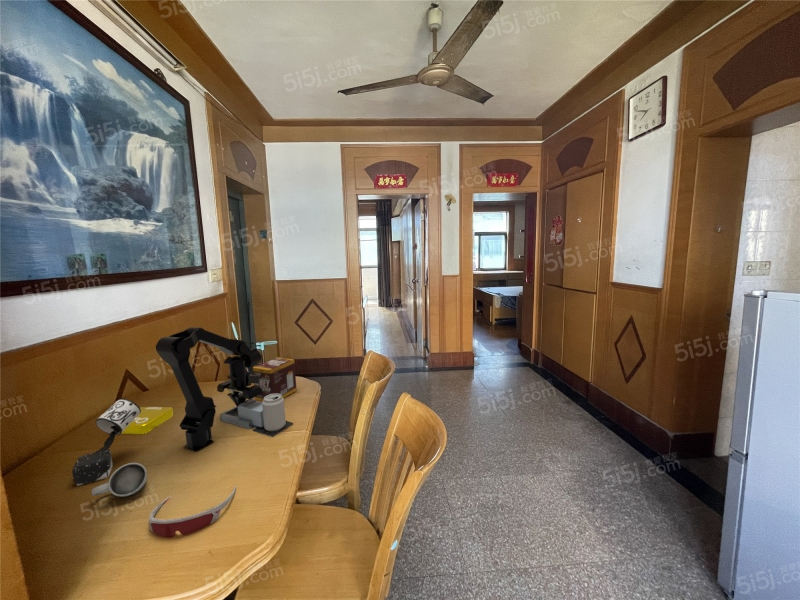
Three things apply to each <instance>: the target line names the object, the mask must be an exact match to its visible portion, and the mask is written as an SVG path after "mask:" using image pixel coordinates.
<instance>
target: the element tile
mask: <svg viewBox="0 0 800 600" xmlns="http://www.w3.org/2000/svg"><path fill="white" fill-rule="evenodd" d="M139 407H140V409H141V413H140V414H139V415H138V416H137V417H136V418H135V419H134V420H133V421H132V422H131V423H130V424H129V425H128V426H127V428H126V429H125V430H124V431H123V432H122V433H121V434H120V435H145V434H147V432H148V433H150V432H152V431H153V430H154V429H153V428H155V427H156V428H158V426H160V425H162V423H164V422H166V421H168V420H169V419H171V418H173V416H174V410H173V409H174V408H173V407H170V406H164V407H163V406H139ZM156 428H155V429H156ZM152 429H153V430H152ZM151 430H152V431H151ZM149 431H150V432H149ZM144 433H145V434H144Z"/></svg>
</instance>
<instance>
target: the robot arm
mask: <svg viewBox="0 0 800 600" xmlns="http://www.w3.org/2000/svg"><path fill="white" fill-rule="evenodd" d="M198 342H199V343H203V344H206V345H209V346H212V347H215V348H217V349H219V350H220V351H221V352H222V353H224V354H226V355H229V356H227V357H226V359H225V360H224V361H223V364H226V365H228V371H229V375H227V380H225V381H223V382H221V383H219V384H218V385H217V386H216V389H217V390H216V391H217V392H219V393H224V392H225V389H226V390H227V391H228V393H227V395H226V396H228V397H229V398H230V399H231V401H232V402H233V404H235V407H236V406H239V404H240V403H242V402H244V401H246V400H248V399H255V398H256V396H258V395H260V394H262V388H261V387H258V386H254V385H252V384H254V383H256V384H258V383H259V378H260V376H258V375H253V373H251V372H250V371H247V368H250V367H251V368H252V367H254V366H256V365H257V364H258V365H259V364H261V361H262V359H263V356H262V354H261V353H260V351H259V350H258V348H257V347H251V348H250V347H249V346H248V345H247V342H246V341H245V340H243V339H233V338H227V337H224V336H222V335H219V334H217V333H214V332H211V331H209V330H206V329H204V328H202V327H195V326H191V327H188V328H186V329H184V330H182V331H179V332H176V333H173V334H170V335H169V336H164V337H161V338H160V339H158V341H157V343H156V344H155V351H156V352H157V354H158V355H159V357H160V358H161V359H162V360H163V361H164V362H165V363H167V364H168V365H169V366H170V368H171V369H172V371H173V375H174V377H175V378H176V381H177V383H178V386H179V389H180V390H181V392H182V396H183V397H184V400H185V401H186V403H185V407H184V412H185V415H184V417H183V418H182V420H181V422H180V423H179V427H180V429H181V430H183V431H184V432H185V433H184V434H185V440H186V445H184V446H183V448H185V449H187V450H190V451H192V452H195V453H196V452H199V451H201V450H203V449H205V448H206V447H208V446H210V445H212V444H214V442H215V440H213V439H212V427H214V422H215V421H214V420H215V416H216V408H217V405H216V404H215V403H214V399H213V397H210V396H205V395H204V394H203V391H202V390H201V388H200V385H199V383H198V380H197V376H196V375H195V373H194V371H193V368H192V366H191V365H192V364H190V355H191V349H192V348H194V347H196V345H197V344H198ZM230 355H231V356H230Z"/></svg>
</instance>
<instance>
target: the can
mask: <svg viewBox="0 0 800 600" xmlns="http://www.w3.org/2000/svg"><path fill="white" fill-rule="evenodd" d="M262 408H263V419H264V428H265V429H266V430H268V431H277V430H280V429H281V428H283V426H284V425H285V424H286V421H287V420H286V409H285V397H284V398H283V397H282V395H281V394H277V393H275V394H270V395H267V396H265V397H264V400H263V402H262Z"/></svg>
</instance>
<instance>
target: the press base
mask: <svg viewBox="0 0 800 600" xmlns="http://www.w3.org/2000/svg"><path fill="white" fill-rule="evenodd" d="M219 418H220V421H221V422H223V423H225V424H226V423H227V424H230V425H233V426H237V427H240V428H244V429H246V430H251V429H252V432H254V433H257V434H262V435H265V436H268V437H271V438H274V437H275V436H277V435H279V434H280V433H282V432H284V431H285V430H286V429H289V427H292V426H293V425H294V423H293V422H291V421H288V420H286V424H285V425H284V426H283V428H281V429H280V430H277V431H268V430H266V429H265V428H264V426H263V427H258V426H255V425H252V421H249V420H246V419H242V418H239V417H238V407H237V406H236V405H235V406H234V407H231V408H230V409H228V410H226V411H224V412H222V413H220V414H219Z"/></svg>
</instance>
